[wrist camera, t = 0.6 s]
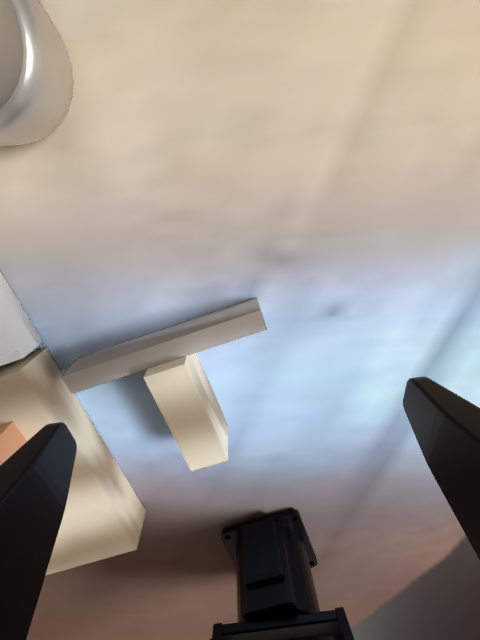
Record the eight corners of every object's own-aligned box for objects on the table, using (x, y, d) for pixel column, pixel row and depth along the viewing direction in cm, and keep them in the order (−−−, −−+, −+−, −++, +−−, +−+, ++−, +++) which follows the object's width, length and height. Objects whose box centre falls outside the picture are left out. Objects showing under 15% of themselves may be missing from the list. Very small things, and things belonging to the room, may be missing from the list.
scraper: (292, 403, 23) (303, 437, 20) (133, 452, 24) (119, 492, 21) (256, 297, 20) (262, 316, 17) (78, 357, 21) (52, 386, 18)
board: (146, 511, 26) (136, 549, 23) (-13, 557, 27) (-40, 599, 24) (46, 347, 21) (18, 371, 18) (-144, 412, 22) (-198, 444, 19)
